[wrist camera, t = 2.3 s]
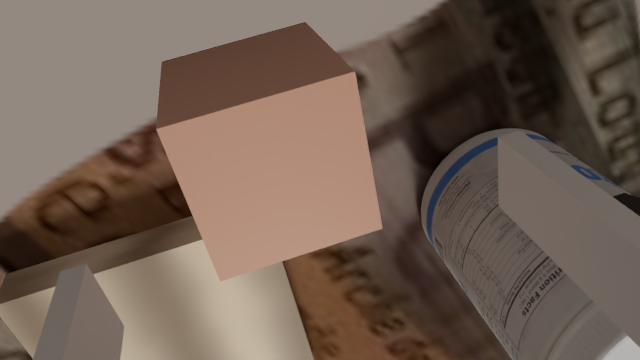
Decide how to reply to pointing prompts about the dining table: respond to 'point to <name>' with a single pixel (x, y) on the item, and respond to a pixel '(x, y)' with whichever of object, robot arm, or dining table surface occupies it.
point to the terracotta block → (268, 148)
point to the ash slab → (169, 300)
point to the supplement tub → (514, 260)
